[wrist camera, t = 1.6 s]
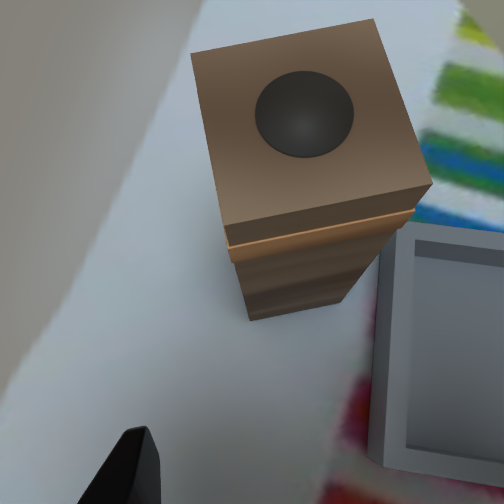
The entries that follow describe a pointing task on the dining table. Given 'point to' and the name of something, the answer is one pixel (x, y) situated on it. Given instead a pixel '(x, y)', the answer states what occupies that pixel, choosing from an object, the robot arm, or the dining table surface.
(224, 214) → the block
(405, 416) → the tray
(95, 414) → the dining table surface
